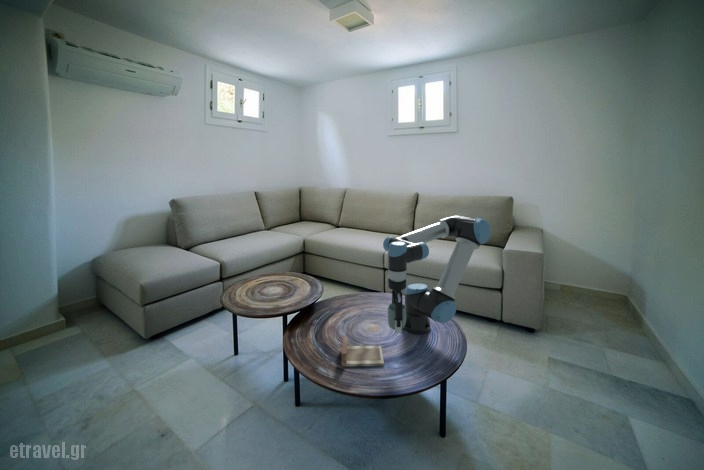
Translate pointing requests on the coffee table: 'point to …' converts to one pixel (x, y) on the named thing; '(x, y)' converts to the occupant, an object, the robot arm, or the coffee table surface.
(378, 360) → the tray
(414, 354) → the coffee table surface
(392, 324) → the cup
